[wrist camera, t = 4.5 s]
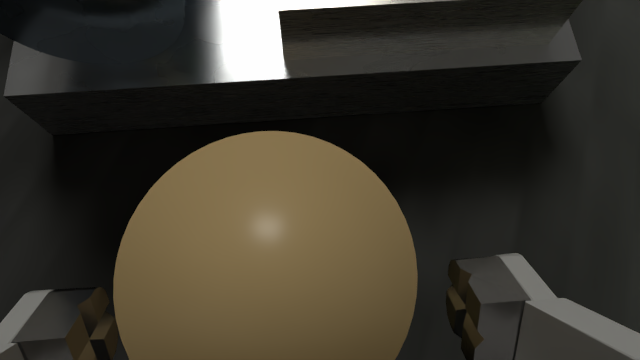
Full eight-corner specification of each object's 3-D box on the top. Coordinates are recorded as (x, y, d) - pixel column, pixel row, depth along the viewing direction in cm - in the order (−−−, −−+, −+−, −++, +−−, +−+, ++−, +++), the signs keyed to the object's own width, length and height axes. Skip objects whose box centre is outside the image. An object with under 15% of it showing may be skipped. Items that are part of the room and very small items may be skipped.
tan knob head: (352, 240, 17) (395, 121, 8) (367, 375, 15) (441, 421, 6) (228, 250, 16) (124, 140, 8) (229, 387, 15) (100, 454, 6)
